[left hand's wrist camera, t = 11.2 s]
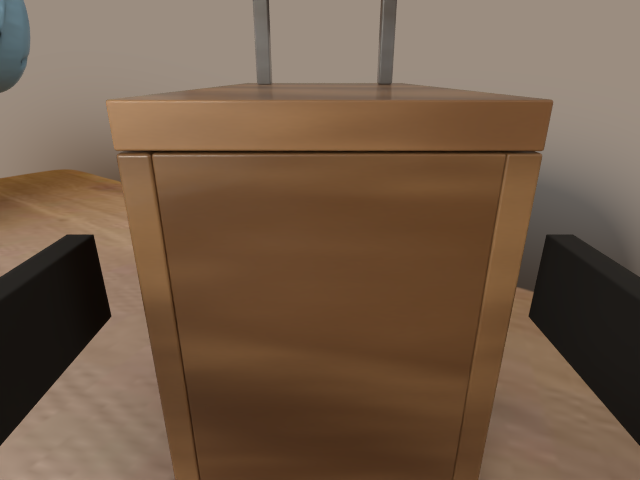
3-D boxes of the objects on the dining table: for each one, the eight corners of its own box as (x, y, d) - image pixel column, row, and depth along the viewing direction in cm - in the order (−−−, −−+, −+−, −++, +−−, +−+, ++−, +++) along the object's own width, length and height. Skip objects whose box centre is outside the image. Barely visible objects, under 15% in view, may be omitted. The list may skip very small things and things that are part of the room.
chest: (256, 271, 28) (245, 103, 24) (391, 271, 28) (402, 103, 24) (178, 505, 13) (114, 153, 9) (473, 506, 13) (544, 153, 9)
